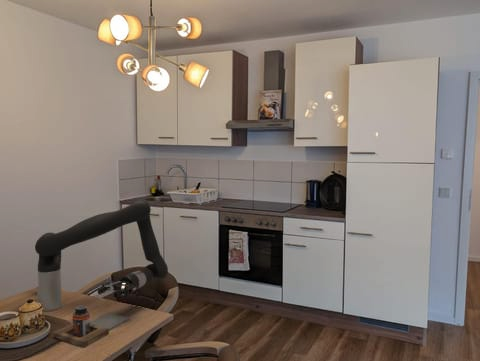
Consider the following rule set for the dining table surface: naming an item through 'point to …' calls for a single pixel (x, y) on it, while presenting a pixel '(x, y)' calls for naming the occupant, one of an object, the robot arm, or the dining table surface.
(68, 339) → the walnut collar
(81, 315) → the supplement bottle
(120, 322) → the charcoal mat
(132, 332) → the dining table surface
